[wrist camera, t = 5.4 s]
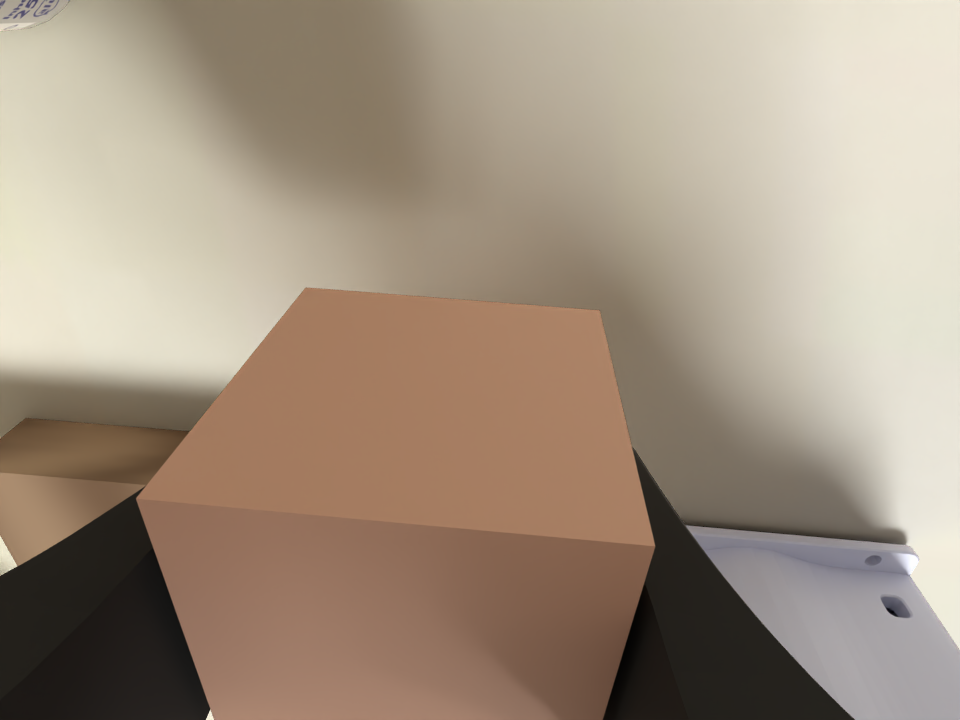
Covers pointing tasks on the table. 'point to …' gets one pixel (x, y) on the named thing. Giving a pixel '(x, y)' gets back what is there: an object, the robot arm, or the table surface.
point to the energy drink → (28, 13)
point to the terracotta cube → (408, 516)
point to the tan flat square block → (71, 477)
